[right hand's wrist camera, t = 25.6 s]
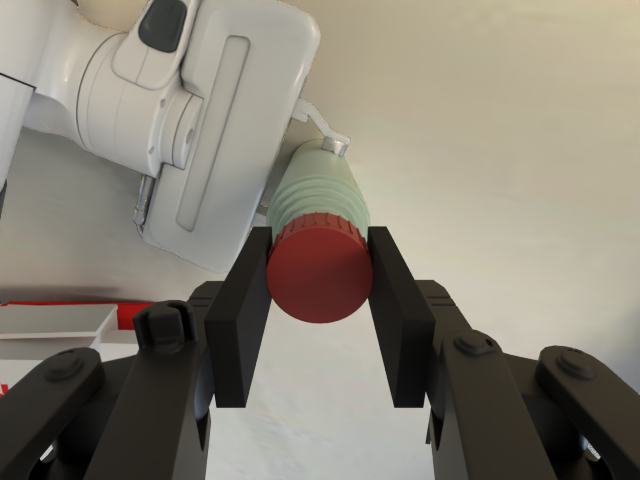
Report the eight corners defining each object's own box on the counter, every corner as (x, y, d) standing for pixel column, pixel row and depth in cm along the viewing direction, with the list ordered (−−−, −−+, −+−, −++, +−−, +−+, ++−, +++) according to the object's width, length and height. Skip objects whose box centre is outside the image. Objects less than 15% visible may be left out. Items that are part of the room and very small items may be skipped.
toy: (170, 449, 34) (-212, 460, 29) (195, 356, 47) (-69, 351, 41) (168, 351, 30) (-282, 341, 24) (197, 277, 42) (-99, 259, 37)
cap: (251, 242, 14) (241, 261, 12) (337, 191, 13) (340, 205, 12) (304, 314, 16) (302, 341, 14) (385, 272, 15) (394, 295, 13)
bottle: (344, 136, 33) (385, 192, 13) (348, 192, 35) (388, 318, 15) (287, 142, 33) (237, 206, 13) (294, 197, 35) (260, 328, 15)
